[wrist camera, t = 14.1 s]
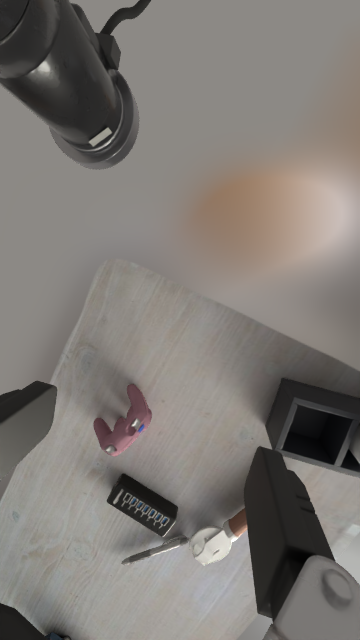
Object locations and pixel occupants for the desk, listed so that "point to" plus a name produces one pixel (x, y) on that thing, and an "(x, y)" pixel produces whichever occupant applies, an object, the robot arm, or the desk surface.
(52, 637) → the toy car
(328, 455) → the cup holder
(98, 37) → the robot arm
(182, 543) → the pen
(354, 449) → the beverage can
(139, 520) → the multiport hub
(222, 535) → the pizza cutter
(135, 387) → the video game controller
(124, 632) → the desk surface
